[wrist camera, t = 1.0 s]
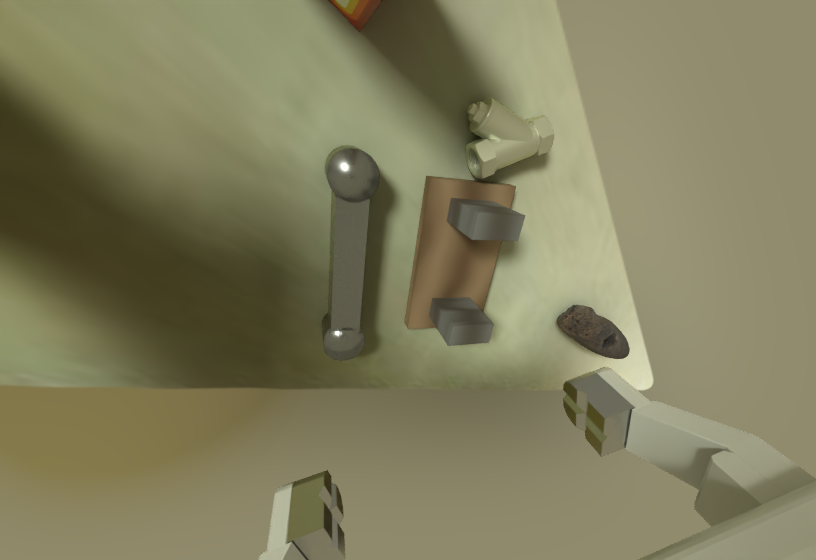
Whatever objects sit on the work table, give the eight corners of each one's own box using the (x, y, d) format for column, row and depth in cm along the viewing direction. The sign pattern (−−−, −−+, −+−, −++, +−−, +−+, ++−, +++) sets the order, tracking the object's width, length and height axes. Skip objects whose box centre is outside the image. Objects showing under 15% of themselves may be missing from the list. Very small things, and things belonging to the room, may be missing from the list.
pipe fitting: (453, 109, 32) (469, 176, 35) (470, 105, 28) (486, 180, 31) (524, 82, 32) (533, 150, 36) (549, 74, 29) (557, 150, 32)
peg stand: (404, 322, 41) (423, 360, 34) (426, 175, 33) (456, 190, 27) (474, 318, 44) (503, 353, 38) (508, 184, 36) (552, 198, 30)
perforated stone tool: (615, 327, 54) (653, 353, 48) (593, 350, 55) (628, 379, 49) (568, 290, 47) (607, 315, 41) (544, 317, 48) (579, 346, 42)
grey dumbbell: (321, 340, 38) (323, 362, 35) (325, 142, 29) (328, 146, 26) (357, 337, 40) (363, 358, 36) (372, 148, 31) (381, 152, 27)
